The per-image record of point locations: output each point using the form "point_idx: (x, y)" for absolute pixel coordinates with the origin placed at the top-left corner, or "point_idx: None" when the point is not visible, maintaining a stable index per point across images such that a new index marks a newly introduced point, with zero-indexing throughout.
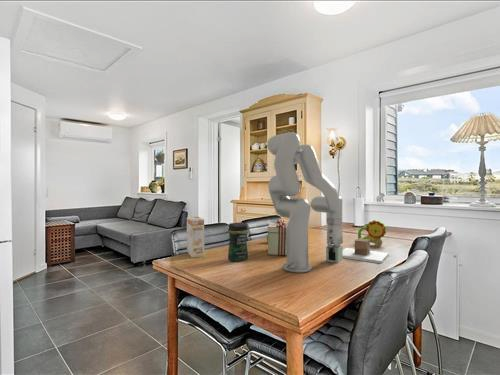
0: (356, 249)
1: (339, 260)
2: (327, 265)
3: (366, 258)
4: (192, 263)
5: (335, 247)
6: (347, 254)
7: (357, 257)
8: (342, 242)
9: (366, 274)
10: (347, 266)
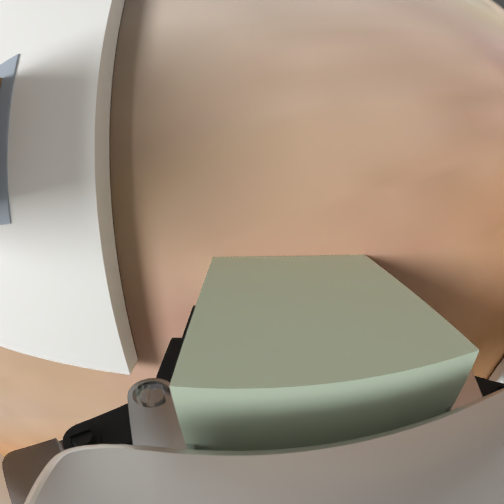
0: None
1: (336, 261)
2: (465, 301)
3: (93, 19)
4: None
5: (423, 418)
6: (41, 262)
7: (92, 104)
8: (98, 460)
9: (489, 16)
10: (435, 135)
